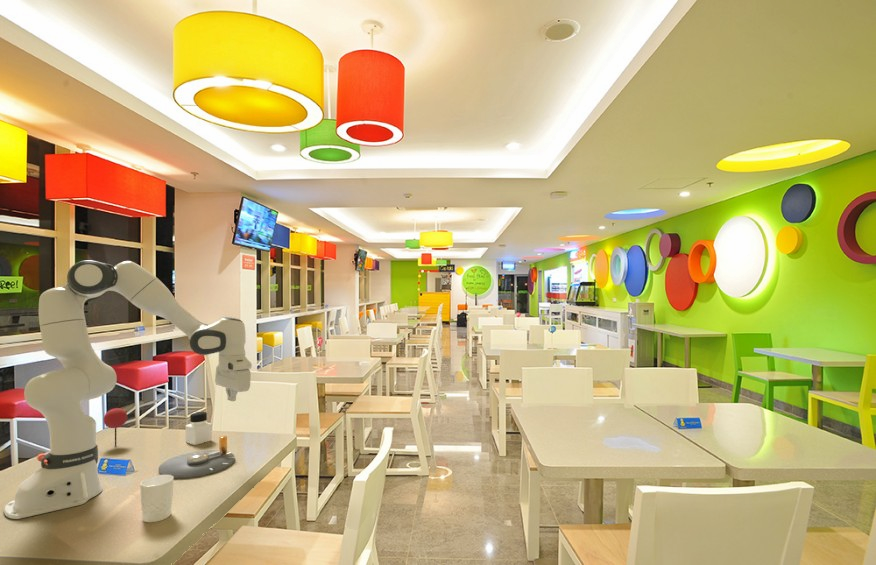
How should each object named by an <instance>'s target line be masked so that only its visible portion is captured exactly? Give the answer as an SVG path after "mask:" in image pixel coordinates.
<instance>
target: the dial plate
mask: <svg viewBox="0 0 876 565" xmlns="http://www.w3.org/2000/svg"><path fill="white" fill-rule="evenodd" d="M218 450H219V449H217V450H215V449H211V450H200V451H199V450H198V451H193V452H187V453H184V454H180V455H176V456H174V457H172V458H169V459H167V460H165V461H163V462H162V463H161V464H159V466H158V475H171V476H173V477H174V479H176V480H186V479H194V478H200V477H205V476H209V475H213V474H217V473H219V472H221V471H224V470H226V469H227V468H229V467H231V466H232V465H233V464H234V462H235V455H234V453H232V452H231V451H227V453H226V454H223V455H217V456H213V457H209V460H208V461H207V462H204V463H201V464H195V465H190V464H187V456H188V455H190V454H192V453H197V452H207V453H210V452H214V451H218ZM174 479H173V480H174Z"/></svg>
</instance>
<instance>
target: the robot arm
mask: <svg viewBox="0 0 876 565" xmlns="http://www.w3.org/2000/svg"><path fill="white" fill-rule="evenodd" d="M66 275H67V276H66V279H67V280H66V283H65V284H64V285H61V286H59V287H52V288H49V289H47V290H45V291H43V292H42V293H41V294H40V296H39V300H38V322H39V329H40V336H41V341H42V347H43V350H44V352H45V353H46V354H47V355H49V356H51V357H53V358H55V359H57V360H58V361H59V362H60V363H61V365H62V367H63V368H62V369H57V370H50V371H48V372H45V373H42V374H40V375H37V376H34V377H32V378H31V379H30V380H28V382H27V383H26V384H25V386H24V387H25V388H24V392H23V396H24V401H26V403H27V405H28V406H29V407H30V408H32V409H33V410H36V411H38V413H41V415H42V416H43V417H44V418H45V421H46V423H47V426H48V431H49V452H48V453H46V454H45V453H39V454H38V455H37V457H36V459H37V460H38V462H40V466H41V467H40V468H39V469H37V470H36V471H35V472H33V473H32V474H31V475H30V476H29V477H27V478H26V479H24V480H23V481H22V482H21V483H20V484H19V486H18V488H17V489H16V492H15V496H14V499H13V500H10V501H9V502H8V503H6V504H5V505H4V511H3V513H4V515H5V516H6V517H7V518H9V519H11V520H12V519H13V520H20V519H24V518H25V519H26V518H29V517H32V516H37V515H38V516H39V515H43V514H46V513H50V512H55V511H60V510H65V509H69V508H73V507H76V506H81V505H83V504H86V503H87V502H88V501H89V500H90V499H92V498H94V497H95V496H97V495H99V494H100V493H101V492H102V491H103V486H102V483H101V481H100V477H99V472H98V471H99V470H98V463H99V462H98V460H99V447H98V444H97V422H96V420H95V419H94V418H93V417H92V416H90V415H88V414H85V413H84V411H83V408H82V403H83V402H86V401H90V400H94V399H97V398H98V399H99V398H100V397H102V396H104V395H106V394H108V393H110V392H111V391H113V389H114V388H115V387H116V385H117V380H118V379H117V377H118V376H117V373H116V371H115V369H114V368H113V367H112V366H111V365H108V364H107V363H105V362H104V361H103V360H102V359H101V358H100V357H99V356H98V354H97V353H96V352H95V350H94V348H93V346H92V344H91V340H90V336H89V332H88V326H87V321H86V316H85V309H84V308H85V303H88V302H91V301H94V300H97V299H98V298H101V297H103V296H104V295H106V293H107V292H108V291H109V292H110V291H111V292H116V293H118V294H120V295H121V296H123V297H124V298H125V299H126V300H128V302H130V303H131V304H132V305H134V306H135V307H136V308H138V309H140V310H141V311H143V312H144V313H146V314H149V315H153V316H157V317H160V318H163V319H165V320H166V321H169V322H170V324H172V325H174V326H175V327H176V328H177V329H179V330H180V331H181V332H182V333H183V334H184V335H186V337H187V338H188V339H189V345H190V349H191V350H192V351H193V352H194V353H195V354H197V355H201V356H208V355H212V354H216V353H218V365H217V366H216V369H215V378H214V379H215V380H214V381H215V382H214V383H215V384H216V385H217V386H220V387H223V388H224V389H225V392H226V396H227V398H226V399H227V401H230V402H235V401H237V395H238V393H242V392H248V391H249V390H250V388H251V379H252V378H251V369H252V367H253V366H252V362H251V361H250V360H249V359H248V358H247V356H246V350H245V344H246V327H245V323H244V322H243V320H241V319H239V318H236V317H230V316H229V317H228V316H227V317H226V316H225V317H222V318H221V319H219V320H217V321H216V322H214V323H210V324H206V323H204V322H201V321H199V320H198V319H197V318H196V317H195V316H193V315H192V314H191V313H190V312H188V311H187V310H186V309H185V308H183V306H181V305H180V303H179V302H178V301H177V299H176V297H174V295H173V294H172V292H171V291H170V289H169V288H168V287H167V286H166V285H165V284H164V283H163V282H162V281H161V280H160V279H159V278H158V277H157V276H155V275H154V274H153V273H151V272H150V271H149V270H148V269H146V268H145V267H143V266H141V265H139V264H137V263H136V262H134V261H131V260H125V261H122V262H119V263H117V264H115V265H112V264H109V263H106V262H102V261H101V262H100V261H97V260H90V259H88V260H81V261H78V262H76V263H75V264H73V265H72V266H71V267H70V268H69V270H68V271H67V274H66Z"/></svg>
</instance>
